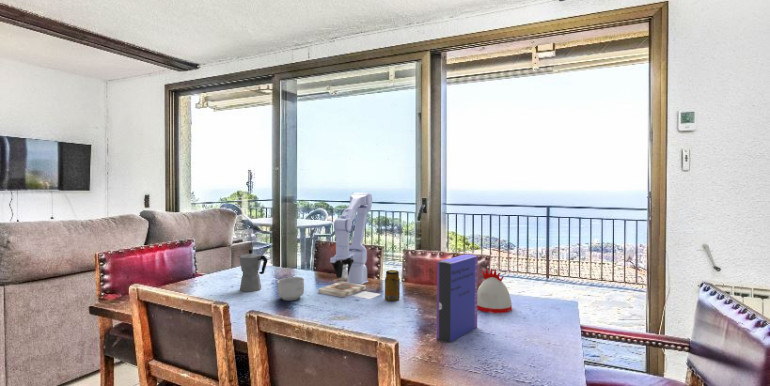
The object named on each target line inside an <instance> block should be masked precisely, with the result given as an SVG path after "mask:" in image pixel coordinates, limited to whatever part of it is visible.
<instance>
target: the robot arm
mask: <svg viewBox="0 0 770 386" xmlns="http://www.w3.org/2000/svg"><path fill="white" fill-rule="evenodd" d="M372 195H373V194H372V193H371V192H354V191H353V192H351V193H350V196H349V205H348V207H347V208H345V209H343V211H342V214H341V215H340V216H339V218H336V219H335V220H334V222H333V231H334V234H335V254H334V256H332V257H330V259H329V260H330V262H329V263H331V265H332V267H333V269H334V272H335V276H336V278H337V279H339V278H341V277H342V268H343V265H344V264H348V281H347V282H348V283H354V284H360V285H364V284H365V283H366V284H367V283H368V282H370V281H369V280H368V268H367V265H366V263H367V259H368V250H367V248H366V246H364V245H363V244H364V243H363V242H364V236H365V230H366V223H367V218H368V213H369V212H370V211H371V209H372V204H373V196H372ZM354 219H356V220H355V225H354V231H353V237H352V242H351V244H350V231H351V230H352V226H353V221H354Z"/></svg>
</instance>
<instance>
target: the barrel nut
mask: <svg viewBox="0 0 770 386" xmlns="http://www.w3.org/2000/svg"><path fill="white" fill-rule="evenodd" d="M341 281H342V282H348V264H344V265H343V268H342V277H341V278H338V282H341Z"/></svg>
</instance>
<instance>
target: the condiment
mask: <svg viewBox="0 0 770 386" xmlns="http://www.w3.org/2000/svg"><path fill="white" fill-rule="evenodd" d="M399 273H400V272H399V271H398V270H395V269H390V270H389V269H388V270H386V271H385V279H384V300H385V301H387V302H398V301H399V300H400V297H401V296H400V295H401V294H400V291H401V290H400V288H401V287H400V286H401V282H400V281H401V280H400V279H401V278H400V276H399V275H400V274H399Z"/></svg>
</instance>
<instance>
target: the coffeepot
mask: <svg viewBox="0 0 770 386" xmlns="http://www.w3.org/2000/svg"><path fill="white" fill-rule="evenodd" d="M237 258H239V263H240V269H241V272H242V275H241V281H240V286H239V291H240V292H244V293H251V292H253V293H254V292H258V291H260V290H261V289H262V284H261V279H260V277H261V276H260V275H264V274H265V271H266V268H267V263H268V258H267V257H266V255H261V254H257V253H253V249H248V253H245V254H241V255H240V254H239V255H238V256H237ZM261 261H263V263H262V267H261ZM260 267H261V271H259V270H260Z"/></svg>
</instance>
